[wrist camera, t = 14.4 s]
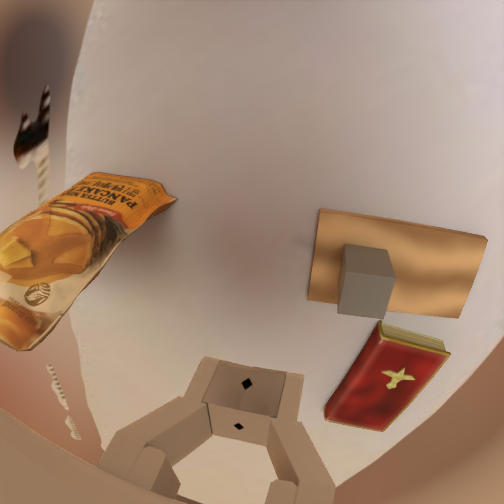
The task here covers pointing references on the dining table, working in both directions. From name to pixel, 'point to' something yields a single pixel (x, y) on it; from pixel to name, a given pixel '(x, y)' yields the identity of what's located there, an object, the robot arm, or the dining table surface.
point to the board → (401, 261)
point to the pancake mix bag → (67, 250)
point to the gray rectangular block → (365, 281)
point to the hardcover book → (385, 378)
